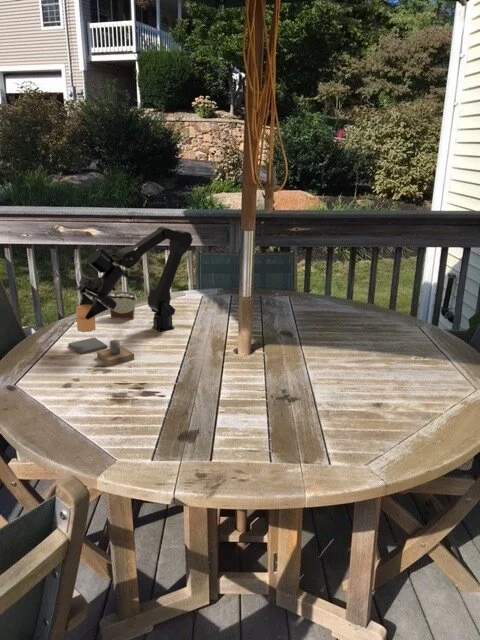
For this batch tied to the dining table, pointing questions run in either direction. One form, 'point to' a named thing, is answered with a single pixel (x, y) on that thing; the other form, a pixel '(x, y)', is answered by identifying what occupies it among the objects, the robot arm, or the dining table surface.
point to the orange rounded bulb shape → (84, 319)
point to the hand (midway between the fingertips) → (82, 316)
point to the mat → (87, 345)
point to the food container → (123, 304)
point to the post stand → (115, 354)
